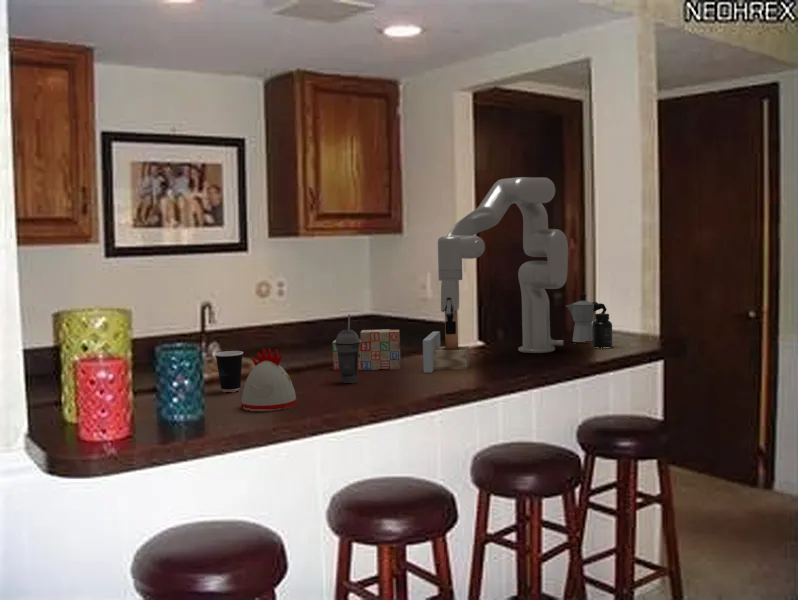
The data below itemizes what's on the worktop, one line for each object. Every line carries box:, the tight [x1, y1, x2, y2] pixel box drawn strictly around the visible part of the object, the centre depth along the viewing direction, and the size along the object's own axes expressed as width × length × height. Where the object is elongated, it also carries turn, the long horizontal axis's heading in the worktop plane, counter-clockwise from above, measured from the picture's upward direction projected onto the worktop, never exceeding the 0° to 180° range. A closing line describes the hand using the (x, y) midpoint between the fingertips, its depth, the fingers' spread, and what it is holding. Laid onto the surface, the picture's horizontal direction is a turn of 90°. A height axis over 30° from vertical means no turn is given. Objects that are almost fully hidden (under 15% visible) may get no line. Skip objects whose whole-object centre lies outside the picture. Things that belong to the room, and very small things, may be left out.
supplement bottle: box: [592, 312, 613, 348], centre depth 295 cm, size 7×7×12 cm
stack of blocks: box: [331, 328, 401, 371], centre depth 267 cm, size 21×6×12 cm, turn 86°
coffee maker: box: [565, 294, 607, 342], centre depth 309 cm, size 15×9×18 cm, turn 80°
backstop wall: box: [422, 330, 441, 374], centre depth 266 cm, size 2×22×10 cm, turn 170°
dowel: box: [444, 307, 459, 350], centre depth 264 cm, size 4×4×14 cm
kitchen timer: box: [241, 347, 297, 409], centre depth 213 cm, size 14×14×15 cm
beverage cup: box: [335, 314, 360, 384], centre depth 243 cm, size 7×7×20 cm
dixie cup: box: [214, 350, 244, 391], centre depth 235 cm, size 8×8×11 cm
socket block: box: [433, 345, 470, 371], centre depth 265 cm, size 10×10×6 cm
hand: (451, 332), depth 264 cm, fingers closed on dowel, 4 cm apart
